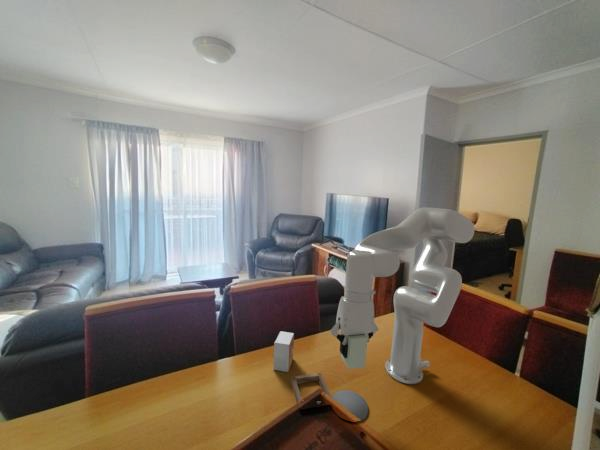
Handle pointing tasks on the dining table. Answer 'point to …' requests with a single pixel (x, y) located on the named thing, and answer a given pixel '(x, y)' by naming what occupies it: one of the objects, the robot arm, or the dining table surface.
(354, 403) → the coaster
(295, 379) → the frame
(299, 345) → the dining table surface
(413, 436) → the dining table surface
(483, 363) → the dining table surface
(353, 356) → the sage block
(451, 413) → the dining table surface
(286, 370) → the small box
